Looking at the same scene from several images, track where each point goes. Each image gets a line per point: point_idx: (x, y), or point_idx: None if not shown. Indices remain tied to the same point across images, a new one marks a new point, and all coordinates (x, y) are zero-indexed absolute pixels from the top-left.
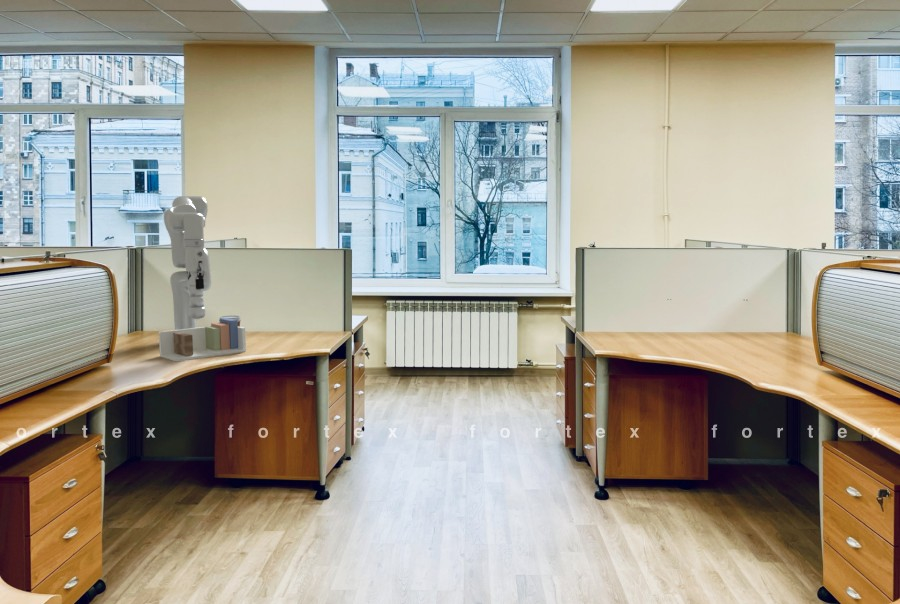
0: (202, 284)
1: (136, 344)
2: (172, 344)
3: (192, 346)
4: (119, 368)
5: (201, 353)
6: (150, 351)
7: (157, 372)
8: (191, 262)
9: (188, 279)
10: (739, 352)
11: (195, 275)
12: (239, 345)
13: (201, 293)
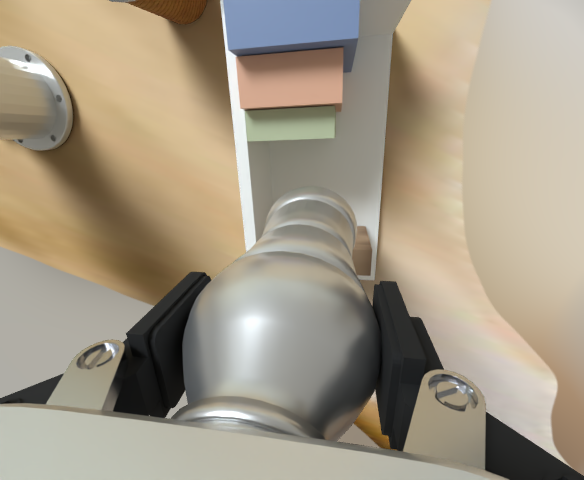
0: (424, 331)
1: (63, 244)
2: None
3: (367, 236)
4: None
5: (349, 191)
6: (185, 260)
7: (471, 357)
8: None
9: (173, 401)
10: None
11: None
12: (362, 32)
13: (353, 266)
